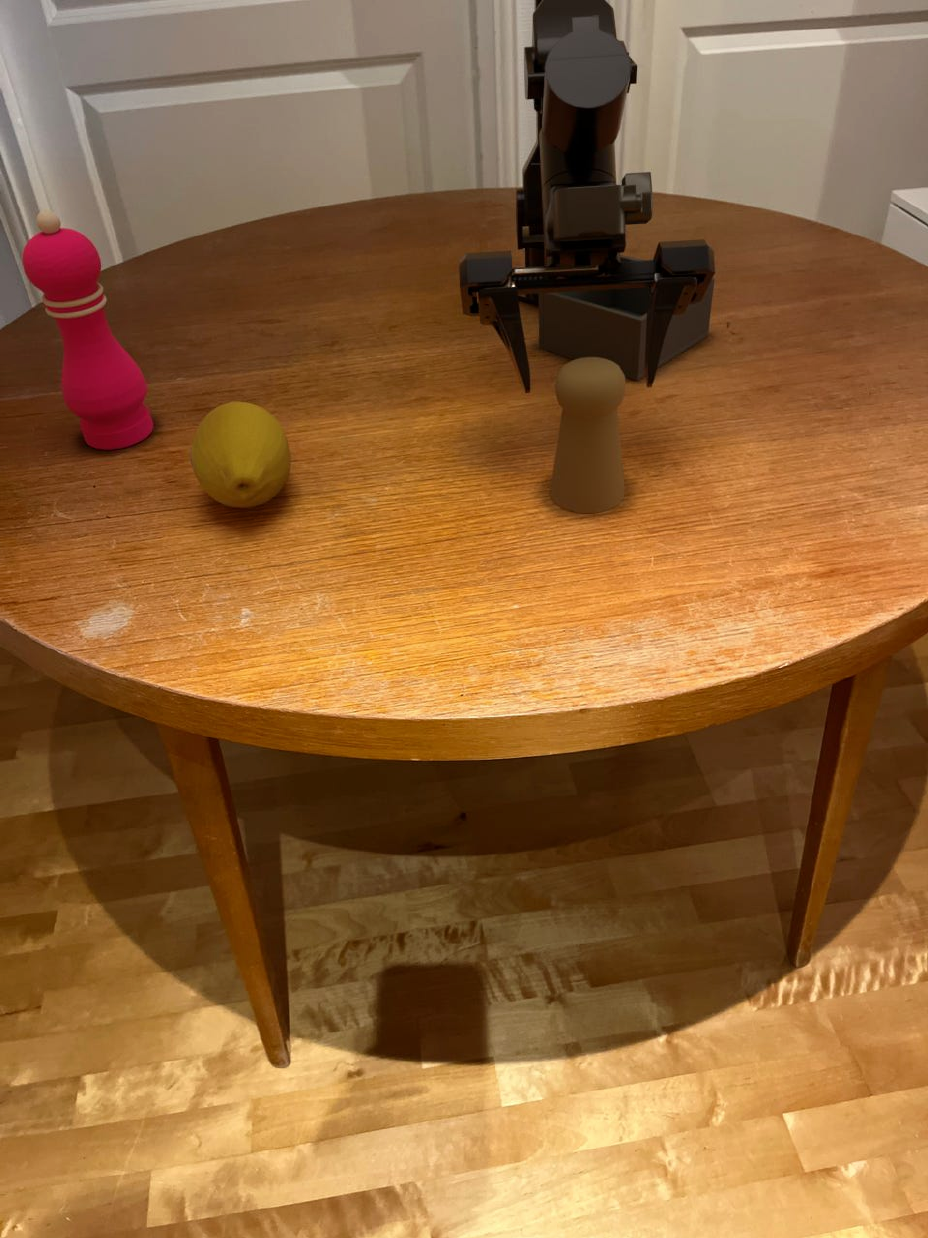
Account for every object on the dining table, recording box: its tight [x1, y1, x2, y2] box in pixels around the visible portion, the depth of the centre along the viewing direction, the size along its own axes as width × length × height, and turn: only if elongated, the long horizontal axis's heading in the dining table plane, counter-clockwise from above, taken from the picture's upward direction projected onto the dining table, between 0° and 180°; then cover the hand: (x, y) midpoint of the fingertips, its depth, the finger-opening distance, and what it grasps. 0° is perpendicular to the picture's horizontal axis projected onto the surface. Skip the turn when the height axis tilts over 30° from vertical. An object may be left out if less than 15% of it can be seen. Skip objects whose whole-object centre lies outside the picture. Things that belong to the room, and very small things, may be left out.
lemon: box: [190, 401, 292, 509], centre depth 76 cm, size 11×8×8 cm
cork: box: [548, 357, 627, 514], centre depth 73 cm, size 6×6×11 cm
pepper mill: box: [22, 210, 154, 451], centre depth 82 cm, size 7×7×20 cm
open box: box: [538, 254, 715, 382], centre depth 94 cm, size 12×12×6 cm
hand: (588, 388), depth 71 cm, fingers open, 9 cm apart
